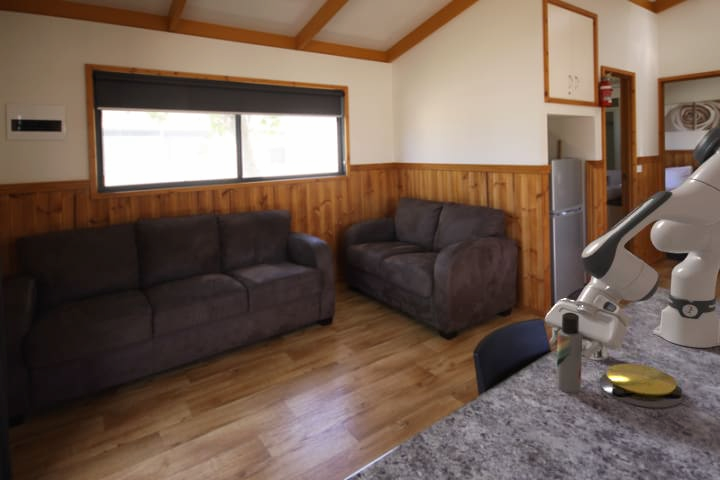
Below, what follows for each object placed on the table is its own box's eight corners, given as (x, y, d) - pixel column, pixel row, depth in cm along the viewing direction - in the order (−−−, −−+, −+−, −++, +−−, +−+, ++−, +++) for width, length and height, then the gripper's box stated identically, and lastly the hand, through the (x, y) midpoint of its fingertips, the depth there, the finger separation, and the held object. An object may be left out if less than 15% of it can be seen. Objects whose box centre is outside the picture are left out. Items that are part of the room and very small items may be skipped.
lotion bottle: (579, 383, 122) (581, 311, 118) (581, 394, 117) (584, 319, 113) (555, 381, 124) (557, 310, 120) (557, 391, 118) (559, 317, 115)
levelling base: (607, 367, 130) (607, 355, 129) (685, 383, 119) (686, 371, 118) (592, 395, 116) (593, 382, 115) (679, 416, 105) (680, 403, 104)
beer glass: (612, 361, 133) (615, 312, 130) (586, 361, 134) (588, 311, 131) (605, 351, 139) (607, 304, 137) (580, 350, 141) (581, 303, 138)
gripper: (555, 290, 128) (530, 331, 126) (627, 310, 110) (598, 358, 108) (566, 302, 131) (541, 343, 128) (637, 323, 113) (610, 371, 111)
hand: (568, 350), depth 118 cm, fingers open, 8 cm apart
